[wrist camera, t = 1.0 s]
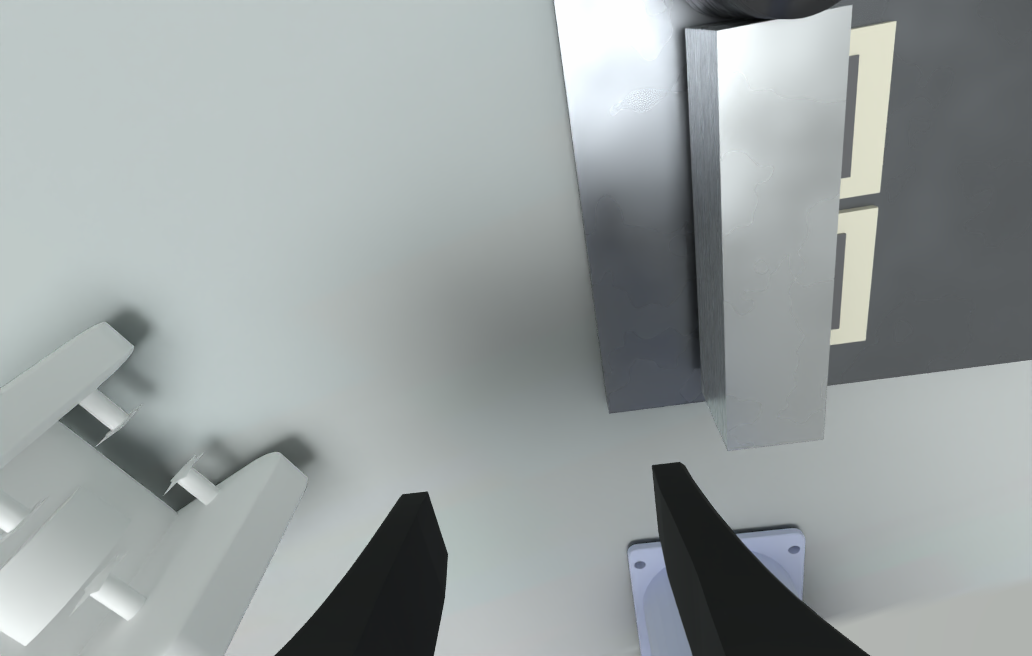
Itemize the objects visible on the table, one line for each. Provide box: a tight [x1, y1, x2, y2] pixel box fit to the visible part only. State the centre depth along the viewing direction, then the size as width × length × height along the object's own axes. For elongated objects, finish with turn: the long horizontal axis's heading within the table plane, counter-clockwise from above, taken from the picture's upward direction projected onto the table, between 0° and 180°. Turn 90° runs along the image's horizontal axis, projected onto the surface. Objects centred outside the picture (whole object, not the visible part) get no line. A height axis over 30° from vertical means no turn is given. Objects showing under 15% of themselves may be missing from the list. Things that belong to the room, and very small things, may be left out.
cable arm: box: [685, 0, 852, 451], centre depth 17 cm, size 16×3×5 cm, turn 10°
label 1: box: [840, 21, 896, 199], centre depth 19 cm, size 5×5×1 cm
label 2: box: [830, 205, 878, 345], centre depth 21 cm, size 5×5×1 cm
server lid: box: [553, 0, 1032, 413], centre depth 20 cm, size 17×16×1 cm
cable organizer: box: [0, 322, 308, 656], centre depth 22 cm, size 15×11×12 cm
